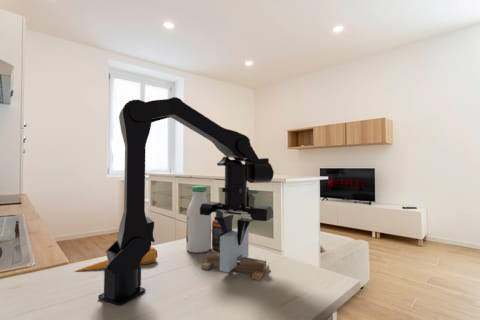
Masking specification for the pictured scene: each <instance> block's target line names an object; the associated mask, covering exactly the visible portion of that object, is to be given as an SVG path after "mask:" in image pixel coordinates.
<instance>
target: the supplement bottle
mask: <svg viewBox="0 0 480 320" xmlns="http://www.w3.org/2000/svg"><path fill="white" fill-rule="evenodd" d="M214 217H216V215H214ZM222 235H224V232H223V230H222V228H221V226H220V224H219V222H218V221H217V220H215V219H214V218H213V220H212V221H211V248H212V249H213V250H216V251H220V236H222Z"/></svg>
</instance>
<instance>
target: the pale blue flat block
mask: <svg viewBox="0 0 480 320" xmlns="http://www.w3.org/2000/svg"><path fill="white" fill-rule="evenodd" d="M249 230H250V227H249V226H248V228H247V230H246V233H245V236H244V239H243V241H242V244H241V245H238V231H237V228H234V229H232V231H230V232H228V233H226V234H224V235H222V236H220V250H219V253H220V268H219V271H220V272H225V273H230V272H231V271H233V270H232V269H233V268H235V267H236V266H237V262H240V259H242V258H243V257H246V258H249V245H250V244H249V241H250V240H249V238H250V237H249V235H250V233H249Z"/></svg>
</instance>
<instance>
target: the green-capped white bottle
mask: <svg viewBox="0 0 480 320" xmlns="http://www.w3.org/2000/svg"><path fill="white" fill-rule="evenodd" d="M191 194H192V197H191V200H190V202H189V205H188V208H187V210H186V226H185V227H186V232H185V233H186V234H185V237H186V238H185V239H186V240H185V242H186V243H185V244H186V245H185V248H186V251H187V252H189V253H194V254H199V253H205V252H210V250H211V248H212V213H211V214H210V215H200V206H201V205H202V204H203V203H207V202H208V200H207V186H206V185H193V186H192V187H191Z"/></svg>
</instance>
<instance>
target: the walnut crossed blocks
mask: <svg viewBox="0 0 480 320" xmlns="http://www.w3.org/2000/svg"><path fill="white" fill-rule="evenodd" d="M213 267H215V268H219V269H220V252H215V251H208V253H206V261H205V262H203V263H202V264H201V269H202V270H207V271H208V270H210V269H212V268H213ZM231 271H234V272H235V271H236V272H239V273H246V274H251V279H252V280H256V281H261V280H262V278H264V277H265V275H266V274H267V273H268V271H270V265H269V264H267V260H263V259H257V258H251V257H247V258H246V257H243V258H242V259H240V261H237V266H236V267H235V268H233V269H232V270H231Z"/></svg>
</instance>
